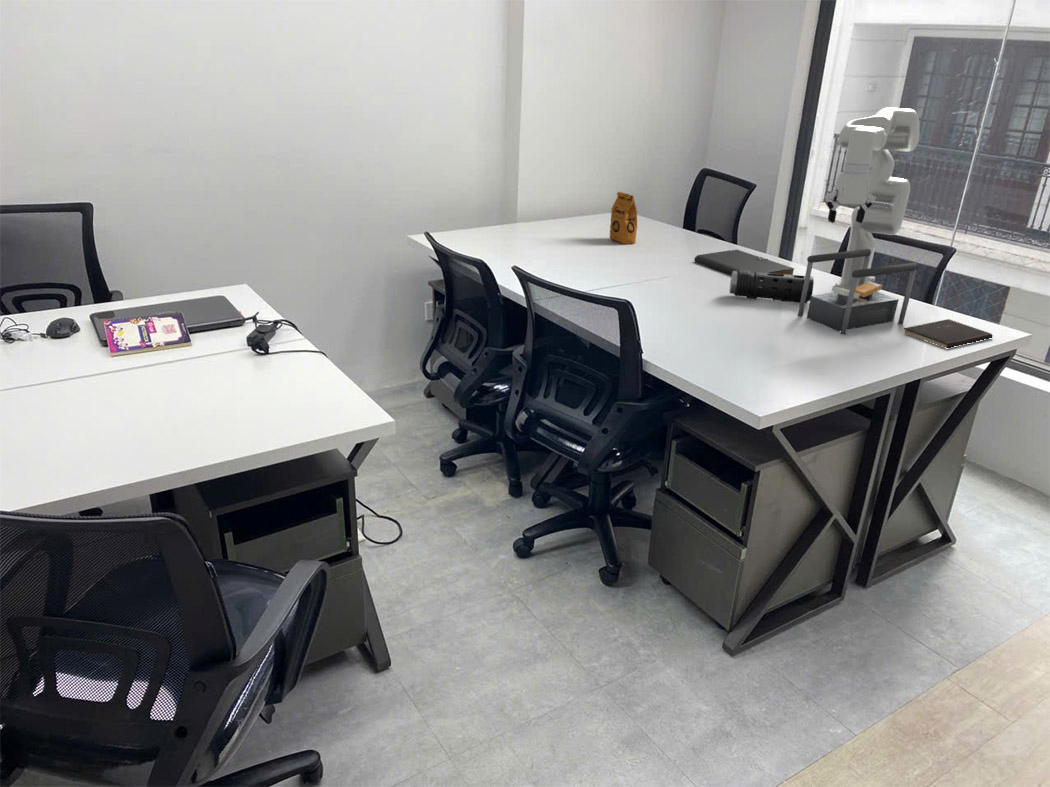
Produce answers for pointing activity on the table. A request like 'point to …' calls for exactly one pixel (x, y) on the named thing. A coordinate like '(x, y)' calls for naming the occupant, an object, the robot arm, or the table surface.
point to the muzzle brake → (769, 286)
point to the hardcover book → (947, 333)
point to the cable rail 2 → (880, 271)
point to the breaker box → (852, 310)
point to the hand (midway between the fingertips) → (845, 222)
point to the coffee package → (624, 219)
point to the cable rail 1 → (830, 257)
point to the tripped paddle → (868, 288)
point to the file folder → (741, 263)
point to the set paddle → (844, 291)
